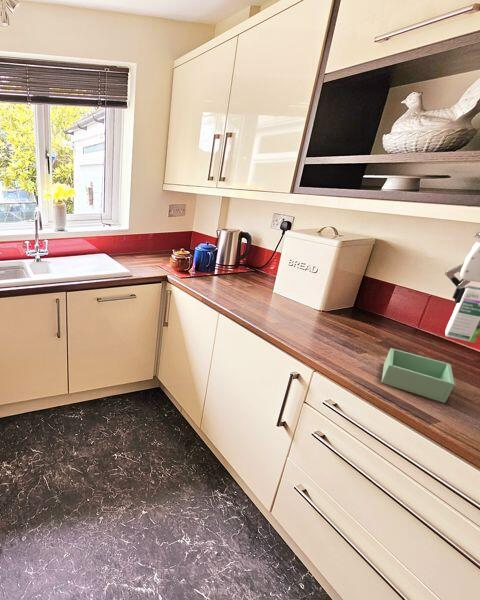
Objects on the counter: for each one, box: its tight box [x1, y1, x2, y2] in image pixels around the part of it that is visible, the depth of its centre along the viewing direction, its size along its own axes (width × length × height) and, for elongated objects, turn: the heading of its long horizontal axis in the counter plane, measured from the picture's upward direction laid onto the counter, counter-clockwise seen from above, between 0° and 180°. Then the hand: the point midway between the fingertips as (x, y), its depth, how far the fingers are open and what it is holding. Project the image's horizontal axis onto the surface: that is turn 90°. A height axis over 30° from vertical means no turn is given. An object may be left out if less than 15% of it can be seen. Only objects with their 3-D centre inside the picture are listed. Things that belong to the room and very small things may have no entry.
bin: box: [381, 347, 455, 404], centre depth 93 cm, size 13×13×6 cm
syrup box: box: [444, 284, 480, 344], centre depth 92 cm, size 6×6×14 cm
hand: (474, 304), depth 91 cm, fingers closed on syrup box, 5 cm apart
